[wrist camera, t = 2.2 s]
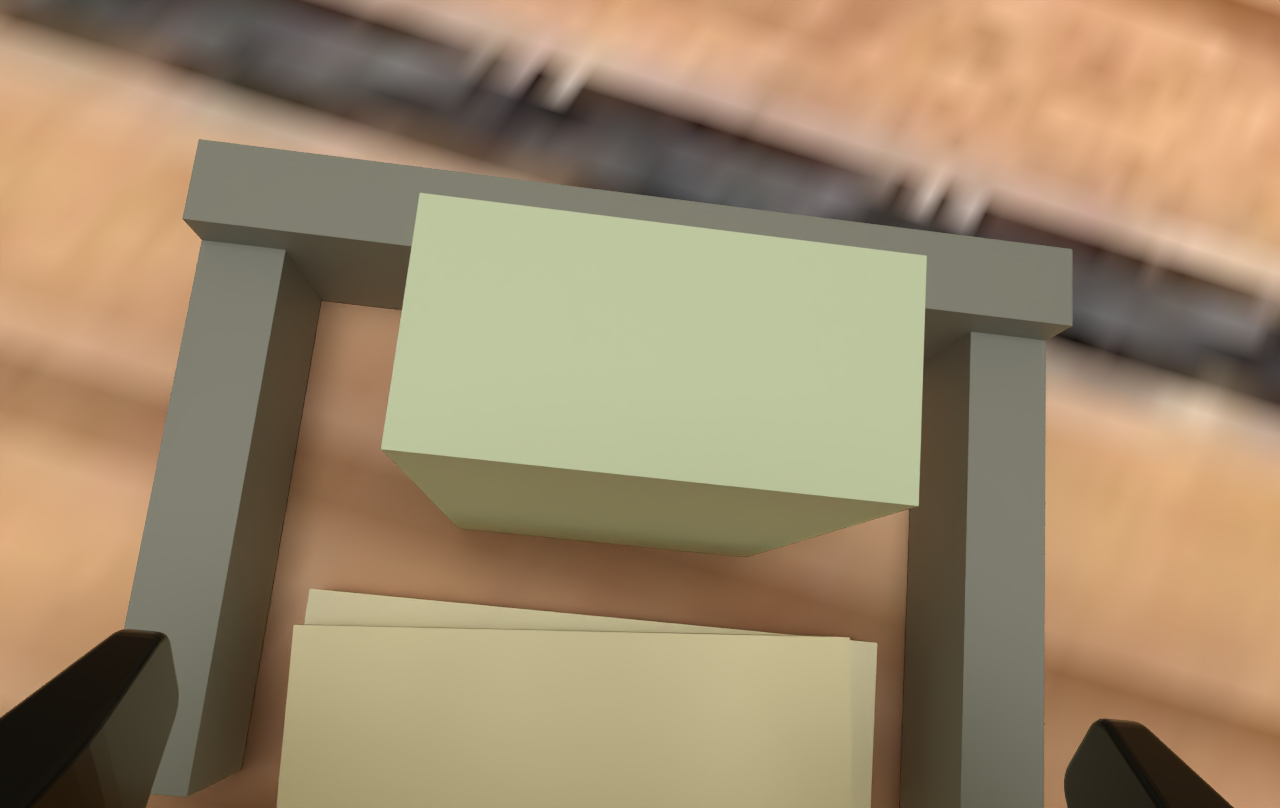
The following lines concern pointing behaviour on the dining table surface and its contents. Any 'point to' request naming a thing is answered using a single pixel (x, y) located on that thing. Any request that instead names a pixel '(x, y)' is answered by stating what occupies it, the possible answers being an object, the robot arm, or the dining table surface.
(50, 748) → the robot arm
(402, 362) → the green block
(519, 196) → the frame
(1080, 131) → the dining table surface
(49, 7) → the dining table surface
